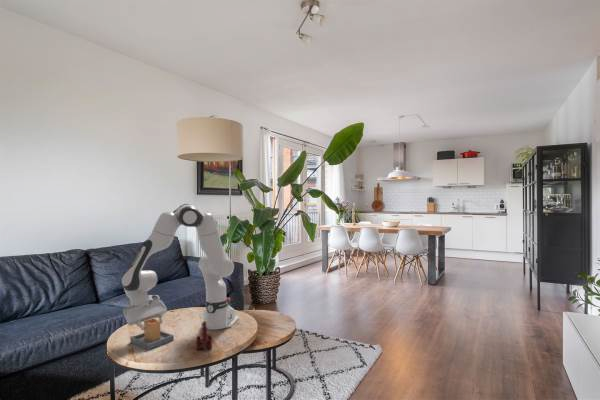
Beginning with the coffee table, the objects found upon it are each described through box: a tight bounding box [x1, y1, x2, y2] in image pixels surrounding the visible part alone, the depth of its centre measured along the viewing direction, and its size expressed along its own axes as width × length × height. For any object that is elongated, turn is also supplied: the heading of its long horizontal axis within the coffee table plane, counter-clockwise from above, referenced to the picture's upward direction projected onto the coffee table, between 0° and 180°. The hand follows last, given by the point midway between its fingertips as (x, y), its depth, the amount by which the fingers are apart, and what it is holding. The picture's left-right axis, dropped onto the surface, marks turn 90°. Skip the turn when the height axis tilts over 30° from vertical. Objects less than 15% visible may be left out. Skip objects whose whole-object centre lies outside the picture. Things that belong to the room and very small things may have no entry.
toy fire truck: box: [196, 322, 213, 351], centre depth 167 cm, size 7×12×10 cm, turn 16°
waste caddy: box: [143, 318, 161, 342], centre depth 173 cm, size 6×5×9 cm
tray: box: [130, 329, 175, 351], centre depth 173 cm, size 16×14×2 cm
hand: (152, 326), depth 173 cm, fingers open, 8 cm apart
